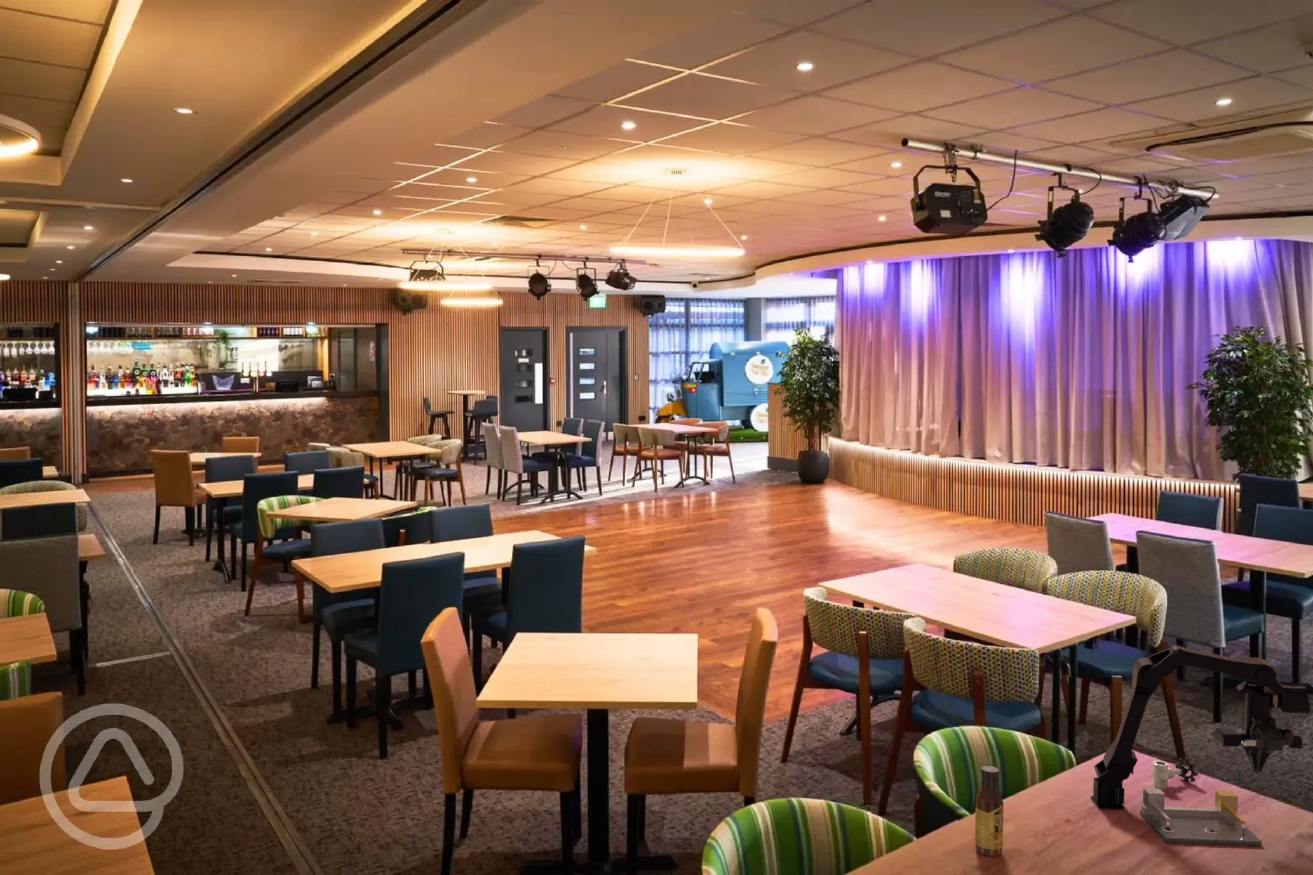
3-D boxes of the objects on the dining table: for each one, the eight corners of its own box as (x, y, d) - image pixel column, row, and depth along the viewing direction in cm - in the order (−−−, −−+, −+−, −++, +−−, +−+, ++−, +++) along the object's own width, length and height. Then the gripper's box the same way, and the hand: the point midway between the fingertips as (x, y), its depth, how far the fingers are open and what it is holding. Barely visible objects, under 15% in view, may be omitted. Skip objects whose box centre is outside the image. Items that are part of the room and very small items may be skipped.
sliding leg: (1235, 831, 233) (1236, 808, 233) (1214, 811, 244) (1215, 790, 243) (1252, 831, 233) (1253, 809, 233) (1231, 812, 243) (1232, 790, 243)
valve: (1164, 792, 259) (1197, 786, 263) (1164, 768, 258) (1198, 762, 262) (1144, 783, 265) (1177, 776, 269) (1145, 759, 264) (1178, 753, 268)
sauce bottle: (999, 860, 223) (1000, 777, 222) (971, 853, 227) (972, 771, 225) (1005, 848, 229) (1006, 767, 228) (978, 841, 232) (979, 761, 231)
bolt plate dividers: (1164, 842, 231) (1165, 813, 231) (1139, 814, 246) (1140, 787, 246) (1261, 846, 229) (1262, 817, 228) (1230, 817, 244) (1231, 789, 243)
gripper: (1235, 720, 232) (1233, 783, 233) (1317, 722, 231) (1315, 786, 232) (1213, 705, 243) (1211, 765, 244) (1291, 706, 242) (1289, 767, 243)
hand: (1256, 771), depth 241 cm, fingers closed
